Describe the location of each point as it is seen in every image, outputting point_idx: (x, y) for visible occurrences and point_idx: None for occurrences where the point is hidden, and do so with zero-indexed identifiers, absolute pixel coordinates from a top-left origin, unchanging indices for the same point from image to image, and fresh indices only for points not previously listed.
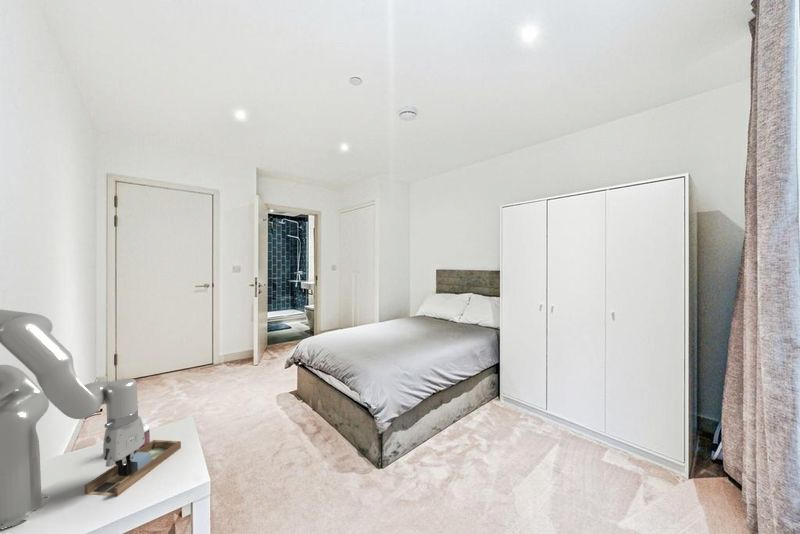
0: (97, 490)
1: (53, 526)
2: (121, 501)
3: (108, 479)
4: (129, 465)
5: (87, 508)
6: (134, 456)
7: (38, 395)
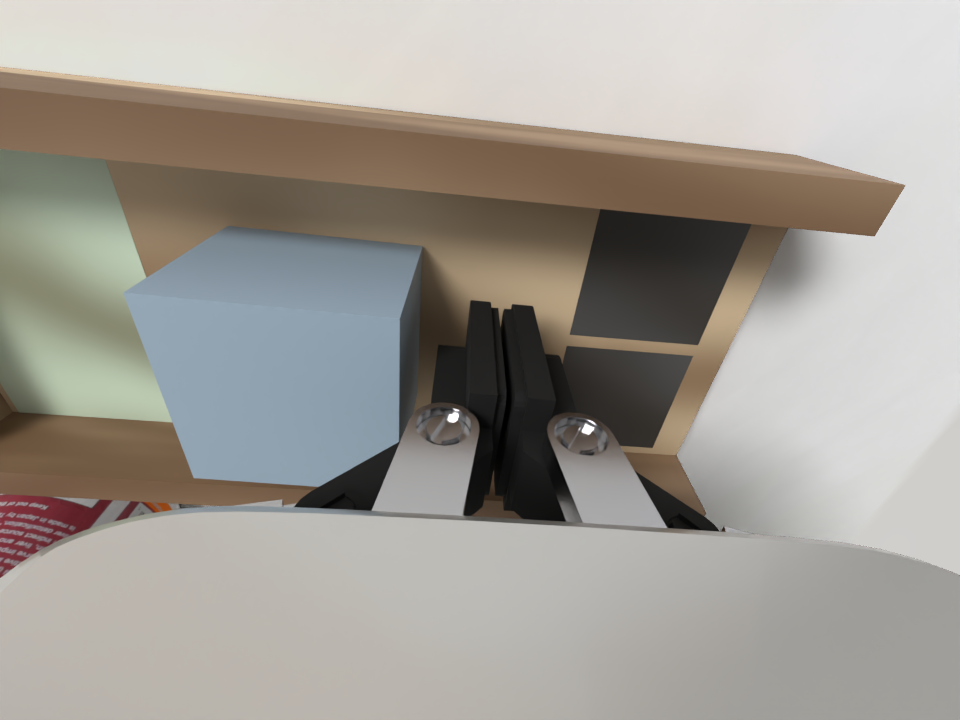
0: (649, 422)
1: (946, 415)
2: (855, 74)
3: None
4: (498, 366)
5: (822, 344)
6: (289, 450)
7: None
